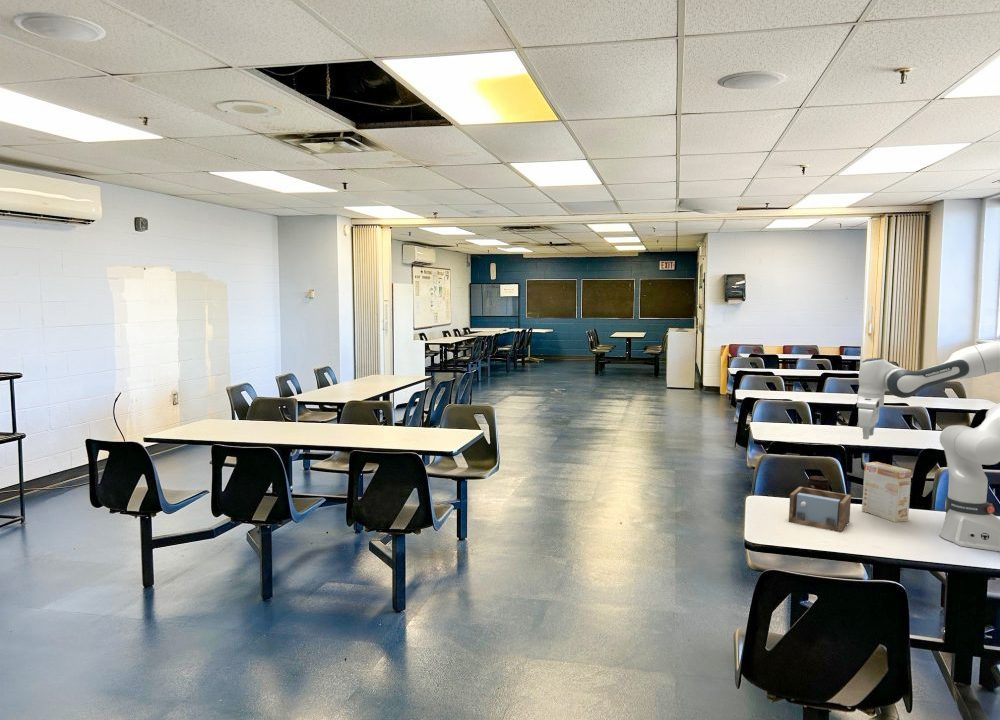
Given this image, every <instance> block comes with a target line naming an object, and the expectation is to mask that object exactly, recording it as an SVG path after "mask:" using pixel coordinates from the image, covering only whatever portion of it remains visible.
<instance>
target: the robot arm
mask: <svg viewBox="0 0 1000 720" xmlns="http://www.w3.org/2000/svg"><path fill="white" fill-rule="evenodd" d="M994 373H1000V340H999V341H989V342H988V341H987V342H983V343H979V344H975V345H970V346H967V347H963V348H961V349H959V350H957V351H954V352H952V353H951V354H950V356H949V358H948V359H947V360H946V361H945V362H942V363H940V364H937V365H933V366H930V367H925V368H922V369H919V370H911V369H905V368H903V367H900V366H898V365H894V363H892V362H891V363H890V362H889V361H888V360H886V359H884V358H883V357H871V358H866V359H864V360H862V362H861V364H860V366H859V372H858V385H859V386H858V391H857V397H856V398H857V401H856V408H858V409H857V410H858V411H857V412H858V413H857V414H858V418H857V419H858V427H859V428H860V429H862V439H863V440H869V438H870V437H871V436H873V435H874V433H875V432H874V431H875V427H876V424H878V422H879V420H880V409H881V408H883V407H884V404H885V393H886V392H889V393H891V394H892V395H893V396H894V397H897V398H900V399H901V398H902V399H907V398H911V397H913V396H915V395H917V394H918V393H919V392H920V391H922V390H924V389H925V388H929V387H931V386H936V385H939V384H941V383H945V382H950V381H953V380H955V381H956V380H962V379H972V378H977V377H981V376H986V375H989V374H994ZM939 443H940V446H941V447H942V448H943V450H944V455H945V459H946V463H947V470H948V488H947V489H948V490H947V492H948V493H947V496H946V498H945V503H944V504H945V505H944V509H945V516H944V520H943V525H942V527H941V529H940V532H939V536H940V537H941V538H942V539H944V540H946V541H949V542H951V543H954V544H956V545H958V546H961V547H966V548H973V549H981V550H985V551H994V552H1000V519H999V518H998V517H997V516H996V515H995V514H993V513H995V507H994V505H993V503H989V501H987V498H988V497H987V495H988V485H989V484H988V477H987V475H986V474H985V471H984V470H983V466H982V465H985V466H991V465H997V464H999V463H1000V402H998V403H997V404H995V405H994V406H992V407H991V408H990V409H988V410H987V411H986V413H985V418H984V420H982V422H981V424H979V425H978V426H976V427H974V428H973V427H970V426H967V425H962V424H958V425H956V424H955V425H948V426H946V427H945V428H944V429H943V430H942V431H941V432H940V435H939Z"/></svg>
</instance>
